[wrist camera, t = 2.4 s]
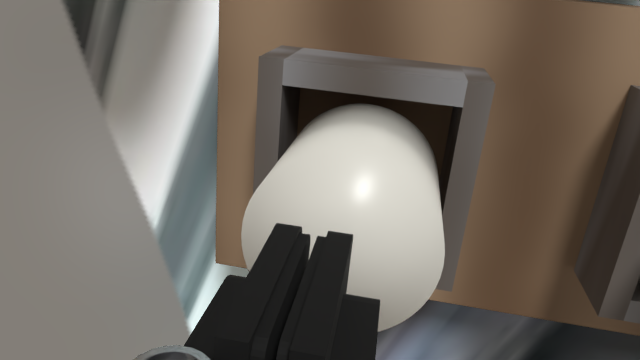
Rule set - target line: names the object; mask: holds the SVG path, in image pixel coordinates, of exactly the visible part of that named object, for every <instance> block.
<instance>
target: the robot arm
mask: <svg viewBox="0 0 640 360" xmlns="http://www.w3.org/2000/svg"><path fill="white" fill-rule="evenodd" d="M352 243H353V234H347V233H340V232H334V231H328V233H327V236H326V237H323V236H317V238H316V241H315V244H314V247H313V249H312V252H311V255H310V258H309V251H310V234H303V233H302V227H301V226H294V225H287V224H281V223H276V224H275V226H274V228H273V230H272V232H271V234H270V235H269V237H268V239H267V241H266V243H265V244H264V246H263V248H262V250H261V252H260V254H259V255H258V257H257V259H256V261H255V263H254V264H253V266H252V268H251V270H250V272H249V274H248V275H247V277H240V276H234V275H228V276H227V277H226V279H225V280H224V282H223V283H222V285H221V286H220V288H219V290H218V291H217V293H216V294H215V296H214V298H213V299H212V301H211V303H210V304H209V306H208V307H207V309H206V311H205V312H204V314H203V316H202V317H201V319H200V320H199V322H198V324H197V325H196V327H195V329H194V330H193V332H192V333H191V335H190V337H189V338H188V340H187V342H186V343H185V345H184V346H180V345H179V346H163V347H159V348H155V349H151V350H149V351H147V352H145V353H143V354H140V355H138V356H137V357H136V358H135V359H133V360H375V355H376V344H377V333H378V322H379V311H380V299H374V298H368V297H362V296H356V295H350V294H346V292H347V284H348V276H349V267H350V259H351V251H352Z"/></svg>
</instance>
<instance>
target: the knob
mask: <svg viewBox="0 0 640 360" xmlns="http://www.w3.org/2000/svg"><path fill="white" fill-rule="evenodd" d="M276 223H281V224H287V225H294V226H301V227H302V233H303V234H310V251H309V258H310V255H311V252H312V249H313V247H314V244H315V241H316V238H317V236H323V237H326V236H327V233H328V231H334V232H340V233H347V234H353V243H352V251H351V259H350V267H349V276H348V284H347V292H346V294H350V295H356V296H362V297H368V298H374V299H380V311H379V322H378V332H379V331H382V330H385V329H388V328H391V327H393V326H395V325H397V324H399V323H401V322H403V321H405V320H406V319H408V318H409V317H411V316H412V315H413V314H415V313H416V312H417V311H418V310H419V309H420V308H421V307H422V306H423V305H424V304H425V303H426V302H427V300H428V299H429V298H430V296H431V295H432V293H433V292H434V290H435V288H436V286H437V284H438V282H439V280H440V277H441V273H442V270H443V266H444V258H445V242H444V231H443V221H442V210H441V200H440V189H439V179H438V169H437V164H436V159H435V156H434V153H433V150H432V148H431V146H430V144H429V142H428V141H427V139H426V138H425V136H424V135H423V134H422V132H421V131H420V130H419V129H418V128H417V127H416V126H415V125H414V124H413V123H412V122H410V121H409V120H408V119H406V118H405V117H403V116H402V115H400V114H399V113H396V112H394V111H392V110H390V109H387V108H384V107H381V106H377V105H371V104H348V105H343V106H339V107H336V108H333V109H330V110H328V111H326V112H324V113H322V114H320V115H319V116H317V117H316V118H314V119H313V120H312V121H311V122H310V123H308V124H307V125H306V126H305V127H304V129H303V130H302V131H301V132H300V133H299V135H298V136H297V137H296V139H295V140H294V141H293V143H292V144H291V145H290V146H289V148H288V149H287V150H286V152H285V153H284V154H283V156H282V157H281V158H280V159H279V161H278V162H277V163H276V165H275V166H274V167H273V169H272V170H271V171H270V172H269V174H268V175H267V176H266V178H265V179H264V180H263V182H262V183H261V184H260V185H259V187H258V188H257V189H256V191H255V192H254V194H253V196H252V197H251V199H250V201H249V203H248V206H247V208H246V210H245V214H244V218H243V222H242V231H241V241H242V250H243V256H244V259H245V262H246V266H247V268H248V271H249V272H250V270H251V268H252V266H253V264H254V263H255V261H256V259H257V257H258V255H259V254H260V252H261V250H262V248H263V246H264V244H265V243H266V241H267V239H268V237H269V235H270V234H271V232H272V230H273V228H274V226H275V224H276Z"/></svg>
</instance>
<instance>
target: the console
mask: <svg viewBox="0 0 640 360" xmlns="http://www.w3.org/2000/svg"><path fill="white" fill-rule="evenodd" d="M348 104H371V105H377V106H381V107H384V108H387V109H390V110H392V111H394V112H396V113H399V114H400V115H402V116H403V117H405V118H406V119H408V120H409V121H410V122H412V123H413V124H414V125H415V126H416V127H417V128H418V129H419V130H420V131H421V132H422V134H423V135H424V136H425V138H426V139H427V141H428V142H429V144H430V146H431V148H432V150H433V153H434V156H435V159H436V164H437V169H438V179H439V189H440V200H441V210H442V221H443V231H444V242H445V258H444V266H443V270H442V273H441V277H440V280H439V282H438V284H437V286H436V288H435V290H434V292H433V293H432V295H431V296H430V298H429V299H428V300H434V301H440V302H446V303H451V304H457V305H463V306H469V307H475V308H480V309H486V310H492V311H498V312H504V313H510V314H515V315H521V316H527V317H533V318H539V319H544V320H550V321H556V322H562V323H568V324H574V325H579V326H585V327H591V328H597V329H603V330H609V331H614V332H620V333H626V334H632V335H638V336H640V6H633V5H623V4H612V3H602V2H591V1H581V0H219V59H218V129H217V198H216V263H219V264H224V265H230V266H236V267H242V268H247V266H246V262H245V259H244V256H243V250H242V241H241V231H242V222H243V218H244V214H245V210H246V208H247V206H248V203H249V201H250V199H251V197H252V196H253V194H254V192H255V191H256V189H257V188H258V187H259V185H260V184H261V183H262V182H263V180H264V179H265V178H266V176H267V175H268V174H269V172H270V171H271V170H272V169H273V167H274V166H275V165H276V163H277V162H278V161H279V159H280V158H281V157H282V156H283V154H284V153H285V152H286V150H287V149H288V148H289V146H290V145H291V144H292V143H293V141H294V140H295V139H296V137H297V136H298V135H299V133H300V132H301V131H302V130H303V129H304V127H305V126H306V125H307V124H308V123H310V122H311V121H312V120H313V119H314V118H316V117H317V116H319V115H320V114H322V113H324V112H326V111H328V110H330V109H333V108H336V107H339V106H343V105H348Z"/></svg>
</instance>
